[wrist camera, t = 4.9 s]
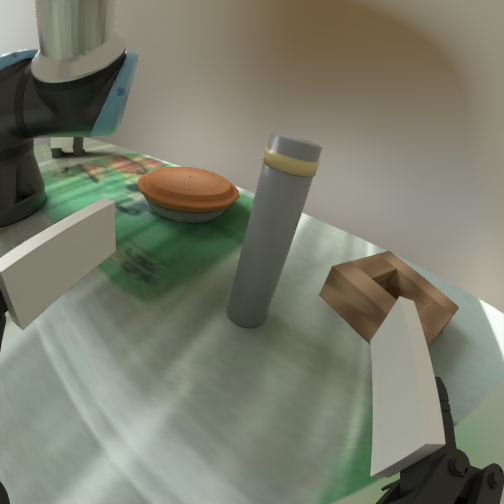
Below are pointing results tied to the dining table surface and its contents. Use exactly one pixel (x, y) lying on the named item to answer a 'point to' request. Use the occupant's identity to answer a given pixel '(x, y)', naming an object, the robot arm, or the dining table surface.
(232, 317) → the gray cylinder
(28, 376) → the dining table surface
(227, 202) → the pie
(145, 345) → the dining table surface
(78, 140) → the giant panda
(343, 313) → the wooden square frame
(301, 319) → the dining table surface
